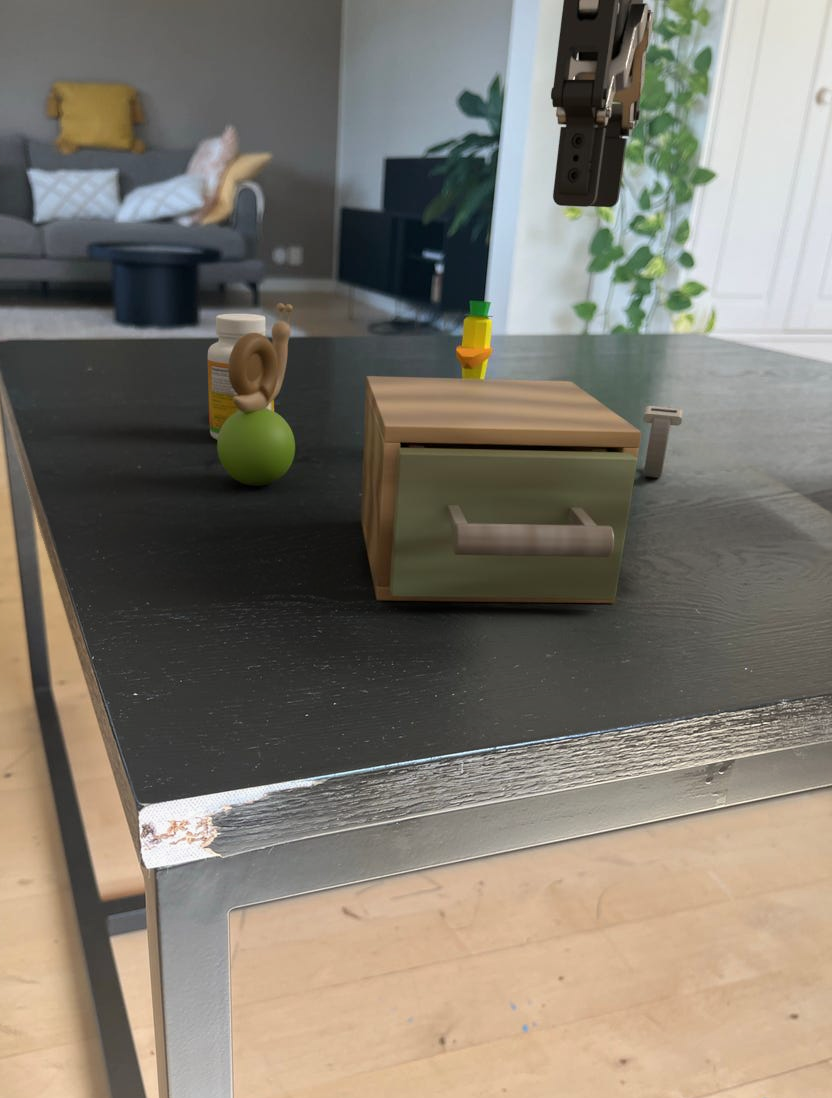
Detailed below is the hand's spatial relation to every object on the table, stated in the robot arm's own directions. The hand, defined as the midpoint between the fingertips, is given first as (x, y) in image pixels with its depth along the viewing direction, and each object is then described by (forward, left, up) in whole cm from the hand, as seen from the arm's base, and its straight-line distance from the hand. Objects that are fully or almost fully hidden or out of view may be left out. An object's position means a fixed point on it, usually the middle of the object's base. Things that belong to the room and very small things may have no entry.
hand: (586, 206), depth 56 cm
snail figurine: (+19, -9, -19) cm, 28 cm away
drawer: (+6, +11, -18) cm, 22 cm away
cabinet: (+6, +6, -19) cm, 21 cm away
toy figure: (+3, -17, -19) cm, 25 cm away
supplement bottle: (+21, -23, -19) cm, 36 cm away
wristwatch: (-11, -13, -19) cm, 25 cm away
